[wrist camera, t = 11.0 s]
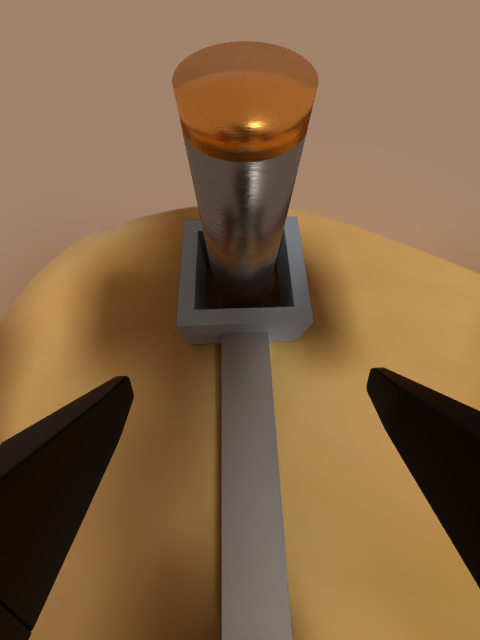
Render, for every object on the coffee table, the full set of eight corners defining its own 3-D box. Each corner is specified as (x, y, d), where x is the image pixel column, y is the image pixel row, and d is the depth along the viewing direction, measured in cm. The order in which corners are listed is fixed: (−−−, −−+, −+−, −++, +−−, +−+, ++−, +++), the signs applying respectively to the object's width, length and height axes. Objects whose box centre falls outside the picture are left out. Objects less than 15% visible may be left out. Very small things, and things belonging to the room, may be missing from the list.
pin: (249, 327, 17) (271, 141, 5) (207, 302, 18) (141, 89, 6) (276, 289, 19) (342, 65, 6) (235, 266, 19) (226, 29, 7)
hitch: (338, 656, 11) (387, 782, 7) (174, 662, 11) (140, 790, 7) (286, 252, 20) (297, 216, 16) (195, 255, 20) (184, 220, 16)
